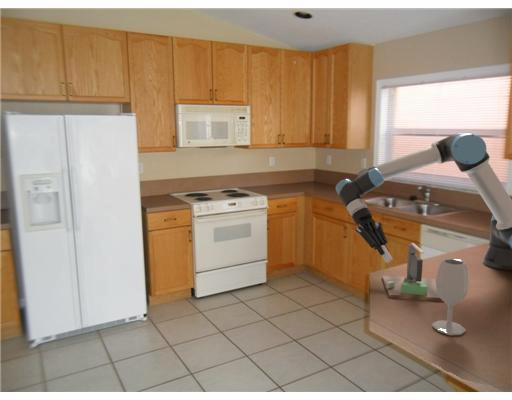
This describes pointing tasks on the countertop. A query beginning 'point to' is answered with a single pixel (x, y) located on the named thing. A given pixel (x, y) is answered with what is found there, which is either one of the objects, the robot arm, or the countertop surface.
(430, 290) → the brown square base board
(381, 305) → the countertop surface
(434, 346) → the countertop surface
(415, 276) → the signpost stand
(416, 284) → the gauge marks
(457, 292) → the wineglass
